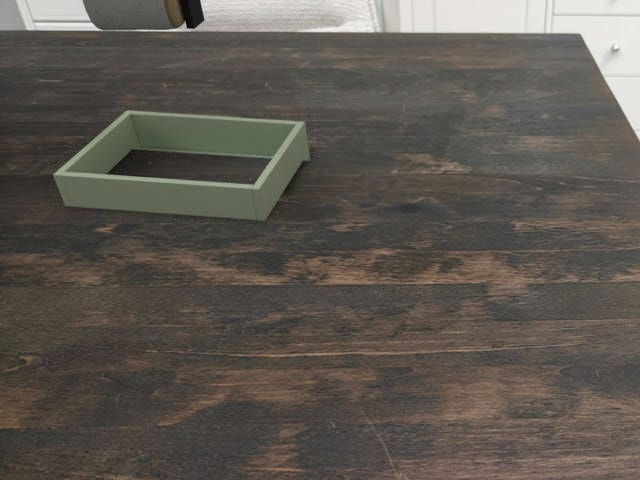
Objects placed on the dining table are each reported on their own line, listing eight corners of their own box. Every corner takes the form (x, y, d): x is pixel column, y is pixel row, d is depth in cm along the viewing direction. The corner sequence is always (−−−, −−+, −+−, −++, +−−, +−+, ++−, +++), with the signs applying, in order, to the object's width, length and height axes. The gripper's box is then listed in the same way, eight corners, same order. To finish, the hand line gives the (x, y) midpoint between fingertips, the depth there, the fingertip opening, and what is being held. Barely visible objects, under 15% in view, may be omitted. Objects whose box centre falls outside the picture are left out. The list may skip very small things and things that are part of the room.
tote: (69, 217, 75) (52, 174, 72) (138, 150, 87) (126, 110, 84) (267, 232, 74) (258, 189, 71) (310, 161, 86) (305, 121, 82)
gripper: (219, -274, 61) (266, 15, 76) (-28, -280, 63) (66, 5, 78) (184, -272, 56) (242, 39, 71) (-87, -279, 57) (26, 28, 72)
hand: (150, 21), depth 74 cm, fingers closed on ceramic mug, 9 cm apart
